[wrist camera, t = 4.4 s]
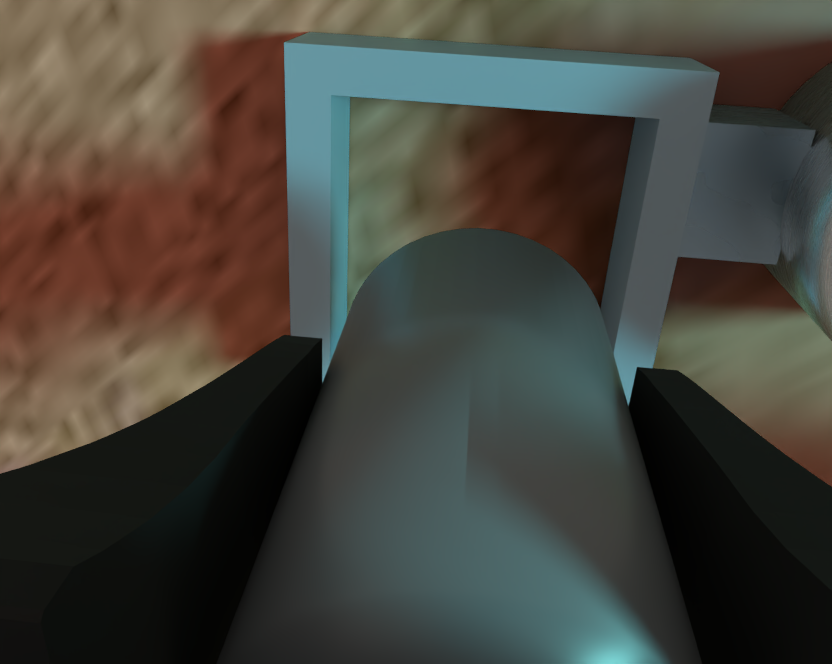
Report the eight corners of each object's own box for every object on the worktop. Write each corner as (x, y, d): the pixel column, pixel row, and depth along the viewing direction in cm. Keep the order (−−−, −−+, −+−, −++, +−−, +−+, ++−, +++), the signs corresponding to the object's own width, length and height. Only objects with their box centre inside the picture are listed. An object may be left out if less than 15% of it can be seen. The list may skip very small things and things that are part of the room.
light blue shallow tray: (690, 58, 17) (719, 72, 15) (621, 388, 21) (636, 438, 19) (309, 31, 18) (284, 42, 16) (312, 360, 22) (292, 405, 20)
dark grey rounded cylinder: (622, 231, 13) (787, 614, 5) (583, 526, 16) (657, 1016, 9) (338, 224, 13) (154, 573, 6) (355, 513, 16) (246, 970, 9)
